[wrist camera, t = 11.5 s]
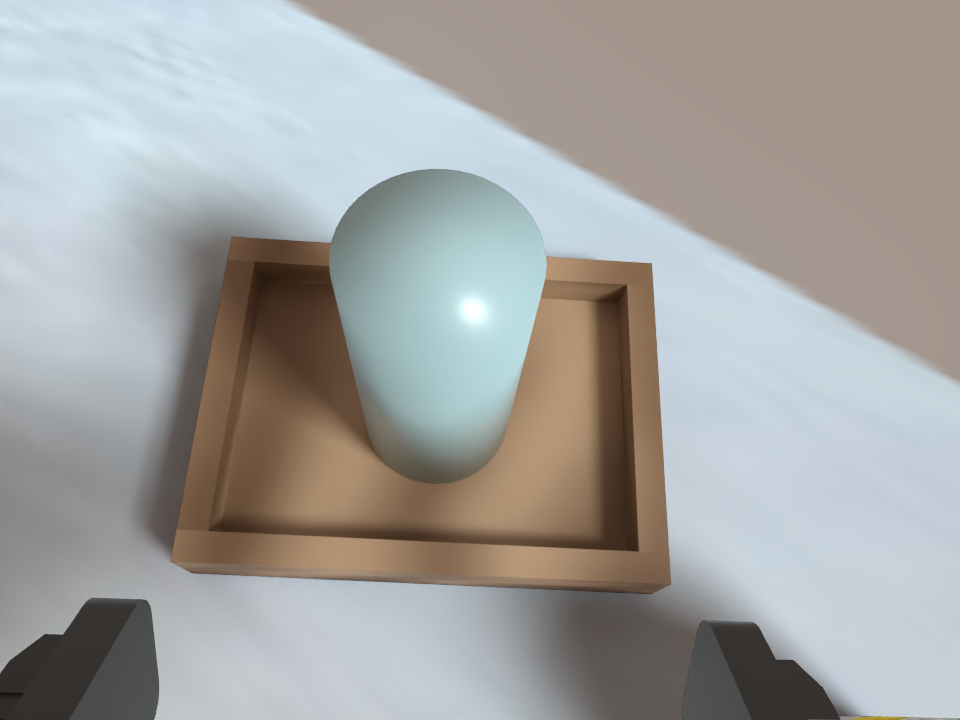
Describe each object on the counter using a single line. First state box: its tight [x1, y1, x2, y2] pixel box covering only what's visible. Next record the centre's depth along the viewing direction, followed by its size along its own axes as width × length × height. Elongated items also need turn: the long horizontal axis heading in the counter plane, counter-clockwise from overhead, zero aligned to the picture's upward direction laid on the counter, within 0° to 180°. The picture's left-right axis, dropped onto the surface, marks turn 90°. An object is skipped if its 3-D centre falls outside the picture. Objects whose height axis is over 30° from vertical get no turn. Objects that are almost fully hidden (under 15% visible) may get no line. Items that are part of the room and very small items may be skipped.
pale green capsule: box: [329, 169, 547, 484], centre depth 24 cm, size 5×5×11 cm
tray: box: [171, 237, 671, 594], centre depth 29 cm, size 16×12×2 cm
